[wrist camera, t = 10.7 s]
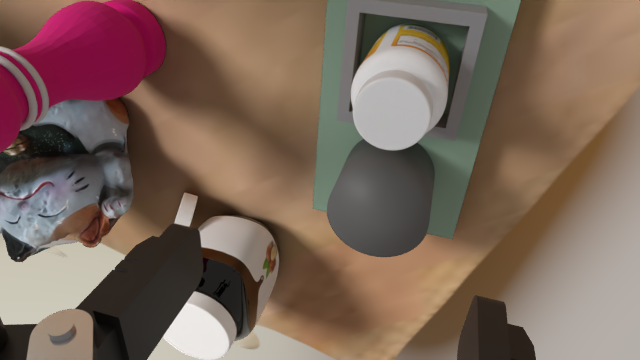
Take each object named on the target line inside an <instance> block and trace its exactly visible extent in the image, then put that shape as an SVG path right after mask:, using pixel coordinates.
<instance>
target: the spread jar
mask: <svg viewBox="0 0 640 360" xmlns="http://www.w3.org/2000/svg"><path fill="white" fill-rule="evenodd" d="M197 199H198V196H195V195H192V194H189V193H185V192H184V194H183V197H182V200H181V203H180V206H179V209H178V212H177V215H176V218H175V221H174V223H175V224H180V225H184V226H188V227H190V224H191V221H192V218H193V214H194V211H195V207H196V203H197ZM198 230H199V232H200V237H201V247H202V257H203V274H202V278H201V281H200V283H199V285H198V287H197V288H196V290H195V291H194V292H193V294H192V295H191V297H190V298H189V300H188V301H187V302H186V304H185V305H184V307H183V308H182V310H181V311H180V313H179V314H178V315H177V317H176V318H175V320H174V321H173V323H172V324H171V325H170V327H169V328H168V330H167V331H166V333H165V334H164V336H163V338H164V339H165V340H166V341H167V342H168V343H169V344H171V345H172V346H173V347H174V348H176V349H177V350H179V351H180V352H182V353H184V354H186V355H188V356H191V357H194V358H197V359H202V360H215V359H219V358H222V357H223V356H224V355H226V353H227V352H228V351H229V349H230V347H231V345H232V343H233V341H237V340H240V339H243V338H244V337H246V336H248V335H249V333H250V332H251V331H252V330H253V328H254V327H255V325H256V323H257V322H258V320H259V318H260V316H261V314H262V312H263V310H264V308H265V306H266V304H267V302H268V300H269V298H270V295H271V293H272V290H273V288H274V285H275V282H276V278H277V274H278V269H279V263H280V248H279V244H278V241H277V239H276V237H275V235H274V234H273V232H272V231H271V230H270V229H269V228H268V227H267V226H265V225H264V224H262V223H260V222H258V221H256V220H254V219H251V218H248V217H244V216H238V215H219V216H214V217H211V218H209V219H208V220H206V221H205V222H204V223H203V224H202V225H201V226H200V227H199V228H198Z"/></svg>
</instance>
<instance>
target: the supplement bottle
mask: <svg viewBox="0 0 640 360" xmlns="http://www.w3.org/2000/svg"><path fill="white" fill-rule="evenodd" d="M449 70H450V57H449V51H448V48H447V46H446V44H445V42H444V40H443V39H442V38H441V37H440V35H439V34H438V33H437V32H435V31H434V30H432V29H431V28H429V27H427V26H425V25H422V24H417V23H404V24H400V25H397V26H394V27H392V28H390V29H389V30H387V31H386V32H384V33H383V34H382V35H381V36H380V37H379V39H378V40H377V41H376V42H375V44H374V45H373V47H372V49H371V50H370V52H369V53H368V55H367V57H366V58H365V59H364V61H363V62H362V64H361V65H360V67H359V68H358V70H357V72H356V74H355V77H354V79H353V82H352V87H351V102H352V107H353V120H354V124H355V126H356V129H357V131H358V132H359V134H360V135H361V136H362V137H363V138H364V139H365V140H366V141H367V142H368V143H370V144H371V145H373V146H375V147H377V148H380V149H384V150H402V149H405V148H408V147H410V146H412V145H414V144H415V143H417V142H418V141H419V140H420V139H421V138H422V137H423V136H424V135H425V133H427V132H428V131H430V130H431V129H432V128H433V127H434V126H435V125H436V124H437V123H438V121H439V120H440V118H441V117H442V115H443V113H444V110H445V107H446V103H447V97H448V83H449Z"/></svg>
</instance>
